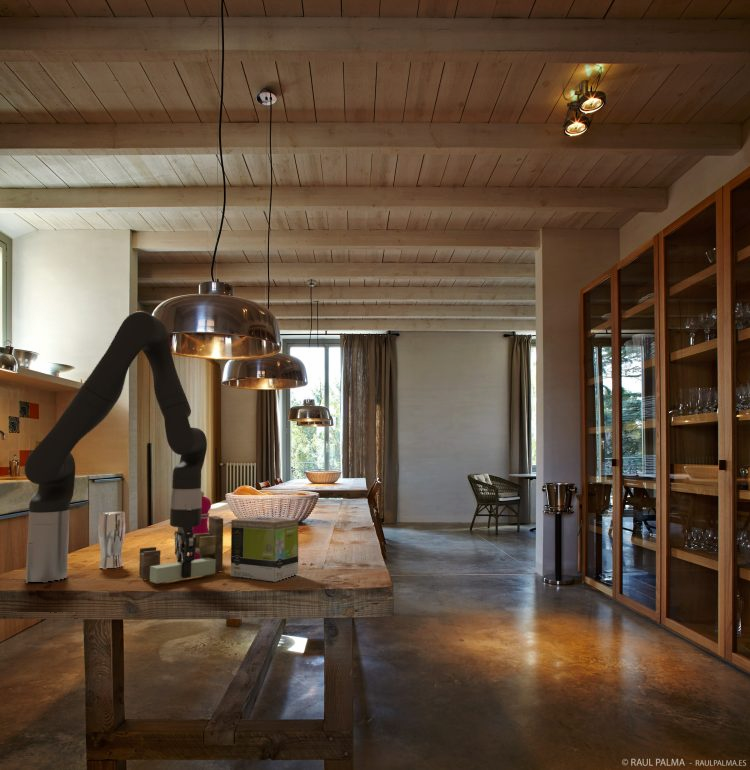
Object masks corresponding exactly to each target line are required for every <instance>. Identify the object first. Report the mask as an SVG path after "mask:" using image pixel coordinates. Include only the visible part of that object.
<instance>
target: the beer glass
mask: <svg viewBox="0 0 750 770" xmlns="http://www.w3.org/2000/svg"><path fill="white" fill-rule="evenodd" d="M97 528H98V530H97V531H98V532H97V533H98V534H97V535H98V541H99V546H100V547H99V548H100V560H99V565H98V569H99V568H105V569H104V570H107V569H106V568H116V567H120V568H122V567H124V565H123V558H122V550H123V545H124V539H125V535H126V512H125V511H122V510H121V511H120V510H119V511H118V510H116V511H115V510H114V511H103V512H99V519H98V527H97ZM121 566H122V567H121ZM116 569H117V568H116Z"/></svg>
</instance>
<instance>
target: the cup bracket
mask: <svg viewBox="0 0 750 770" xmlns="http://www.w3.org/2000/svg"><path fill="white" fill-rule="evenodd" d="M208 531H209V533H202V534H195V537H196V539H197V541H196V549H195V552H196V553H198V554H199V555H200V559H203V558H212V559H216V564H215V572H217V573H220V572H219V571H222V572H223V569H224V568H223V563H224V562H223V557H224V555H223V554H224V550H223V548H224V518H222V517H220V516H217V515H211V516H210V515H209V518H208Z"/></svg>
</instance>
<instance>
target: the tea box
mask: <svg viewBox="0 0 750 770" xmlns="http://www.w3.org/2000/svg"><path fill="white" fill-rule="evenodd" d="M230 536H231V537H230V577H237V578H242V577H243V578H244V579H250V578H251V580H260V581H266V582H267V581H268V582H274V583H276V582H280V581H283V580H282V579H284V580H286V579H285V578H287V579H289V578H288V577H291V576H294V575H296V574H299V518H296V517H294V518H293V517H277V516H276V517H275V516H256V515H255V516H249V517H243V518H234V519H231V531H230ZM294 577H295V576H294ZM291 578H292V577H291ZM279 580H280V581H279Z"/></svg>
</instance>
